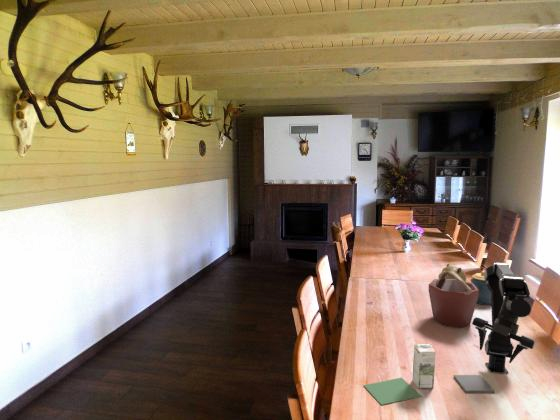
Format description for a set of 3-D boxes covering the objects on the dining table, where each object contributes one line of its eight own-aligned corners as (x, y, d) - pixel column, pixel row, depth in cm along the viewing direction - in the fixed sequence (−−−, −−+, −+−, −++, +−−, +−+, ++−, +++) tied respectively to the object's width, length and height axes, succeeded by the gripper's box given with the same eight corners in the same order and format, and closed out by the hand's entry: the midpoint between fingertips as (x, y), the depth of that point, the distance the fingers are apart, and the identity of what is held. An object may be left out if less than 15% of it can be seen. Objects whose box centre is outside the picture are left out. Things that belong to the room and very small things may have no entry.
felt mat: (401, 378, 149) (401, 377, 149) (421, 396, 138) (421, 395, 138) (363, 386, 144) (363, 385, 144) (381, 405, 133) (381, 404, 133)
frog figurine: (432, 280, 265) (434, 262, 264) (454, 279, 271) (456, 262, 270) (446, 286, 252) (448, 268, 251) (469, 285, 258) (471, 268, 257)
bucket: (481, 333, 186) (484, 281, 183) (431, 329, 190) (433, 279, 187) (467, 313, 210) (470, 267, 206) (423, 310, 214) (425, 265, 211)
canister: (488, 297, 233) (490, 268, 230) (498, 305, 220) (500, 274, 217) (465, 296, 234) (467, 267, 232) (474, 304, 221) (476, 274, 219)
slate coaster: (453, 377, 150) (453, 375, 149) (480, 376, 149) (480, 374, 149) (465, 392, 140) (465, 390, 140) (494, 392, 139) (494, 390, 139)
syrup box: (427, 379, 148) (429, 343, 146) (434, 389, 142) (435, 350, 140) (412, 380, 148) (413, 343, 146) (418, 389, 142) (419, 351, 140)
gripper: (476, 301, 135) (461, 344, 135) (539, 324, 123) (522, 372, 123) (482, 302, 144) (468, 343, 143) (541, 324, 132) (526, 369, 131)
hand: (494, 356), depth 135 cm, fingers open, 9 cm apart
